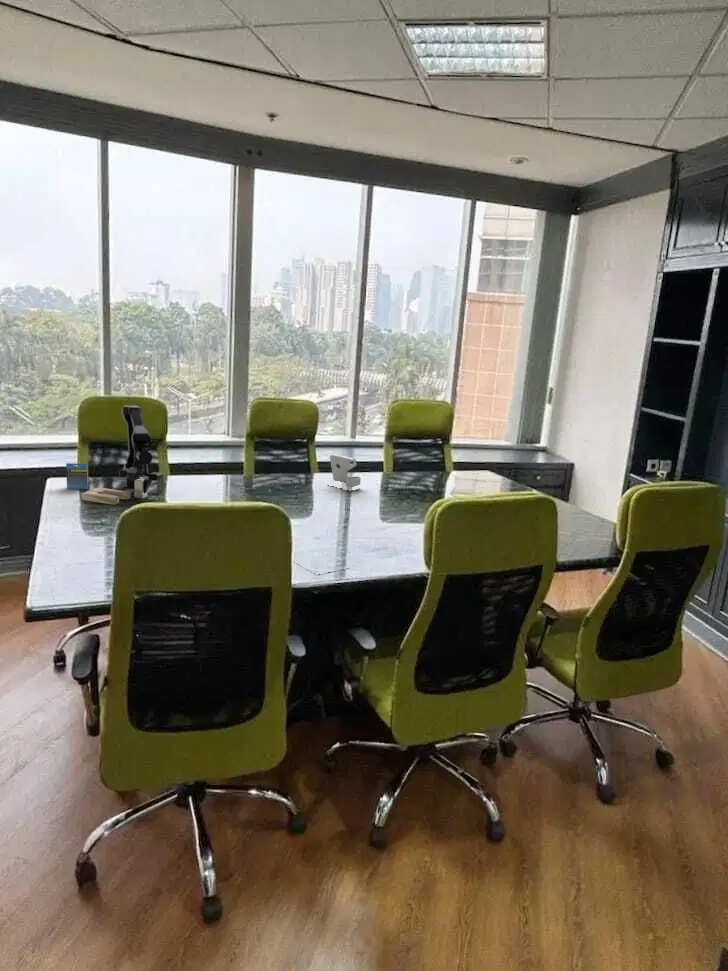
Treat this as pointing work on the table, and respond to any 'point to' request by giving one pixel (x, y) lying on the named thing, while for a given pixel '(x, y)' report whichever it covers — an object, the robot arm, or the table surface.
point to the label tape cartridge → (77, 476)
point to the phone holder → (343, 470)
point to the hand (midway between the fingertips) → (141, 492)
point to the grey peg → (139, 489)
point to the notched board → (105, 495)
